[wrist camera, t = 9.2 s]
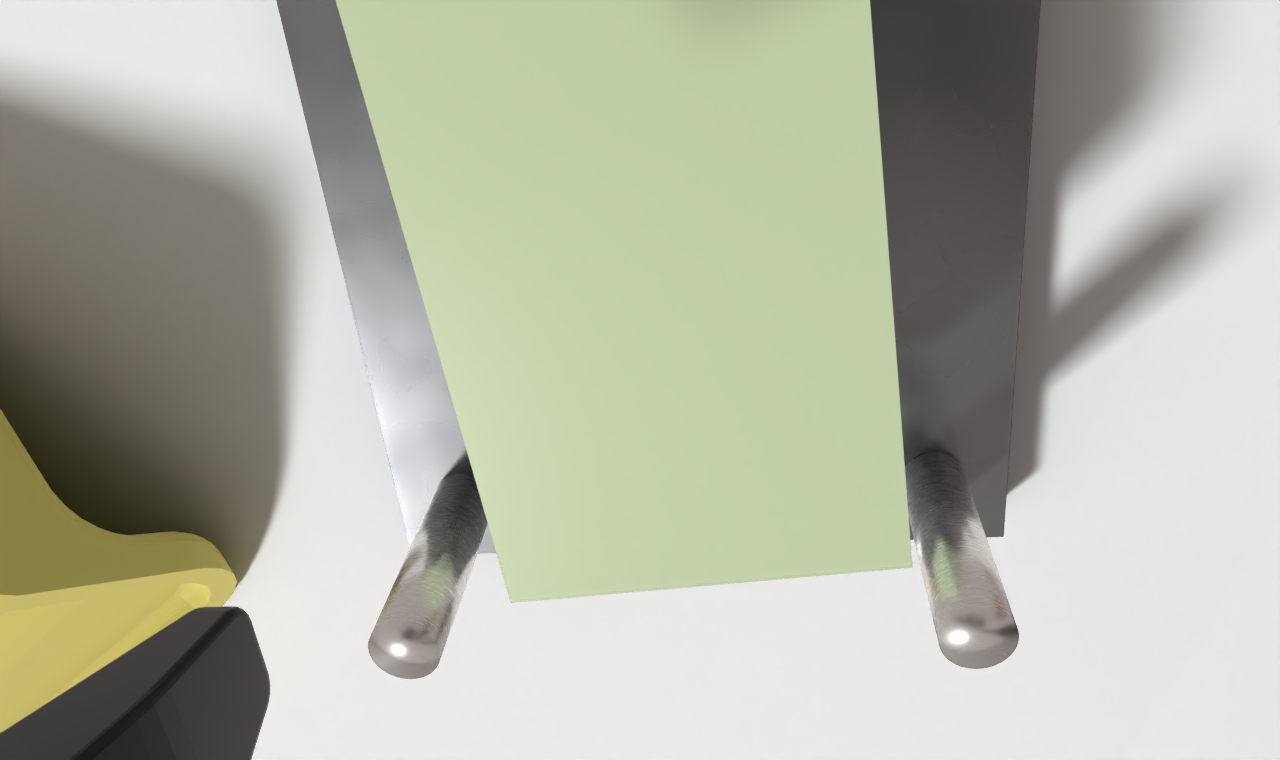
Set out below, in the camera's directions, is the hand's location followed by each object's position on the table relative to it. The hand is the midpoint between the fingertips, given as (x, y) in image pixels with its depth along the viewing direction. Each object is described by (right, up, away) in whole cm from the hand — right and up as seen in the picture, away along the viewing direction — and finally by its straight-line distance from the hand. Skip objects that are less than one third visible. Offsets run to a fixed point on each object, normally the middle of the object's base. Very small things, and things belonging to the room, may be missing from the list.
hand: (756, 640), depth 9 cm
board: (-1, +6, +7) cm, 9 cm away
